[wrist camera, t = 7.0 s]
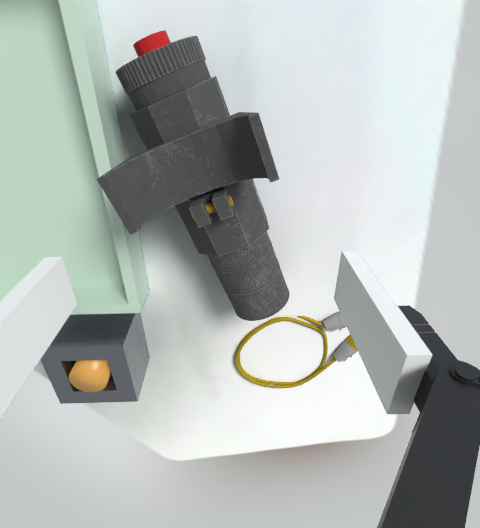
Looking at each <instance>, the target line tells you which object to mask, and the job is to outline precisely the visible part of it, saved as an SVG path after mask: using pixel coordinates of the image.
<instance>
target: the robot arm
mask: <svg viewBox="0 0 480 528" xmlns="http://www.w3.org/2000/svg"><path fill="white" fill-rule="evenodd" d="M334 299H335V302H336V304H337V306H338V308H339V310H340V313H341V315H342V317H343V319H344V321H345V323H346V326H347V328H348V330H349V332H350V334H351V336H352V339H353V341H354V343H355V345H356V347H357V350H358V352H359V354H360V356H361V358H362V360H363V363H364V365H365V367H366V369H367V371H368V374H369V376H370V378H371V380H372V382H373V384H374V387H375V389H376V391H377V393H378V395H379V397H380V400H381V402H382V404H383V406H384V408H385V411H386V413H387V414H409V413H410V411H411V408H412V406H413V403H414V402H415V404H416V406H417V408H418V410H419V411H420V415H419V417H418V419H417V422H416V424H415V426H414V429H413V431H412V436H411V438H410V441H409V444H408V447H407V449H406V452H405V454H404V457H403V460H402V463H401V465H400V468H399V471H398V473H397V476H396V479H395V481H394V484H393V487H392V490H391V493H390V495H389V498H388V500H387V503H386V506H385V508H384V511H383V514H382V517H381V519H380V522H379V525H378V527H377V528H465V523H466V517H467V512H468V506H469V501H470V495H471V489H472V484H473V479H474V472H475V467H476V462H477V456H478V451H479V445H480V370H479V369H477V368H476V367H474V366H472V365H470V364H468V363H465V362H462V361H458V360H457V359H456V357H455V356H454V355H453V354H452V352H451V351H450V350H449V349H448V347H447V346H446V345H445V344H444V342H443V341H442V340H441V339H440V337H439V336H438V335H437V333H435V332H434V330H433V329H432V327H431V326H430V325H428V322H427V321H426V320H425V318H424V317H423V316H422V314H420V313H419V312H418V311H416V310H415V309H413V308H412V307H410V306H397V304H396V303H395V302H394V300H393V299H392V297H391V296H390V295H389V293H388V292H387V290H386V289H385V288H384V286H383V285H382V284H381V282H380V281H379V279H378V278H377V277H376V275H375V274H374V272H373V271H372V270H371V268H370V267H369V265H368V264H367V263H366V261H365V260H364V258H363V257H362V256H361V254H360V253H359V251H342V253H341V259H340V265H339V271H338V277H337V283H336V289H335V295H334ZM76 305H77V302H76V299H75V296H74V293H73V290H72V287H71V284H70V280H69V277H68V274H67V271H66V268H65V265H64V262H63V259H62V257H45V258H44V259H43V260H42V261H41V262H40V263H39V264H38V265H37V266H36V267H35V268H34V269H33V270H32V271H31V272H30V273H29V274H28V275H27V276H26V277H25V278H23V279H22V280H21V281H20V282H19V283H18V284H17V285H16V286H15V287H14V288H13V289H12V290H11V291H10V292H9V293H8V294H7V295H6V296H5V297H4V298H3V299H2V300H1V301H0V419H1V418H2V416H3V415H4V413H5V412H6V410H7V409H8V407H9V406H10V404H11V403H12V401H13V400H14V398H15V397H16V395H17V394H18V392H19V391H20V389H21V388H22V386H23V385H24V383H25V382H26V380H27V379H28V377H29V376H30V374H31V373H32V371H33V370H34V368H35V367H36V365H37V364H38V362H39V361H40V359H41V358H42V356H43V355H44V353H45V352H46V350H47V349H48V347H49V346H50V344H51V343H52V341H53V340H54V338H55V337H56V335H57V334H58V332H59V331H60V329H61V328H62V326H63V325H64V323H65V322H66V320H67V319H68V317H69V316H70V314H71V313H72V311H73V310H74V308H75V307H76Z"/></svg>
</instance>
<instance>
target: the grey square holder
mask: <svg viewBox="0 0 480 528" xmlns="http://www.w3.org/2000/svg"><path fill="white" fill-rule="evenodd" d="M149 358H150V357H149V353H148V348H147V343H146V339H145V334H144V329H143V324H142V320H141V315H140V313H118V314H76V315H70V316H69V317H68V319H67V320H66V322H65V323H64V325H63V326H62V328H61V329H60V331H59V332H58V334H57V335H56V337H55V338H54V340H53V341H52V343H51V344H50V346H49V347H48V349H47V350H46V352H45V353H44V355H43V356H42V358H41V361H42V363H43V366H44V368H45V370H46V372H47V374H48V377H49V379H50V381H51V383H52V385H53V388H54V390H55V392H56V394H57V396H58V398H59V401H60V403H94V402H129V401H138V398H139V394H140V391H141V387H142V383H143V380H144V376H145V373H146V369H147V365H148V362H149ZM81 360H108V363H109V366H110V370H111V375H110V377H109V380H108V383H107V385H106V387H105V388H104V389H103V390H101V391H98V392H85V391H81V390H79V389H77V388H75V387H74V386H73V385H72V384H71V383H70V381H69V374H70V372H71V370H72V368H73V366H74V364H75V362H76V361H81Z"/></svg>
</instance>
